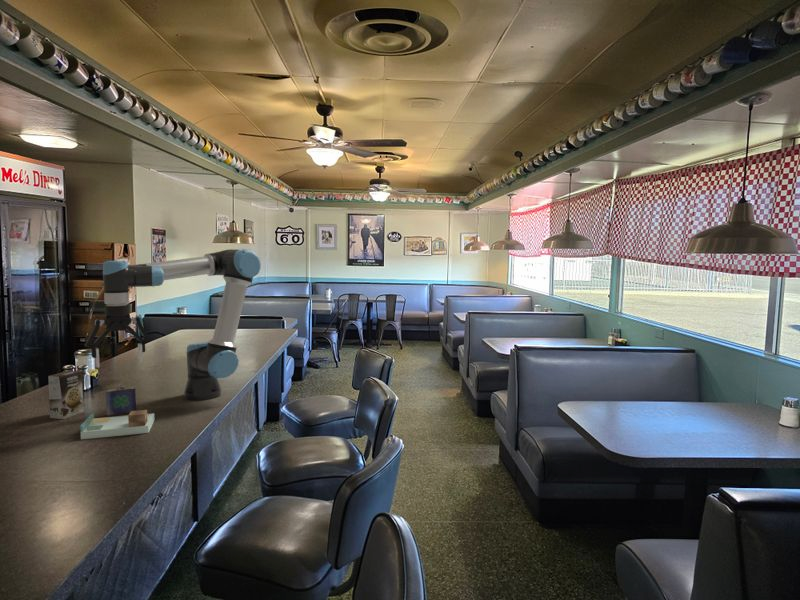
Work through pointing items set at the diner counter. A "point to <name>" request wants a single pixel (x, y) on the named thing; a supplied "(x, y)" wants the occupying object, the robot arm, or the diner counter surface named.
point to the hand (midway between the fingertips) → (119, 364)
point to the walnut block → (137, 418)
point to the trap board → (112, 427)
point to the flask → (120, 400)
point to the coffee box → (65, 394)
